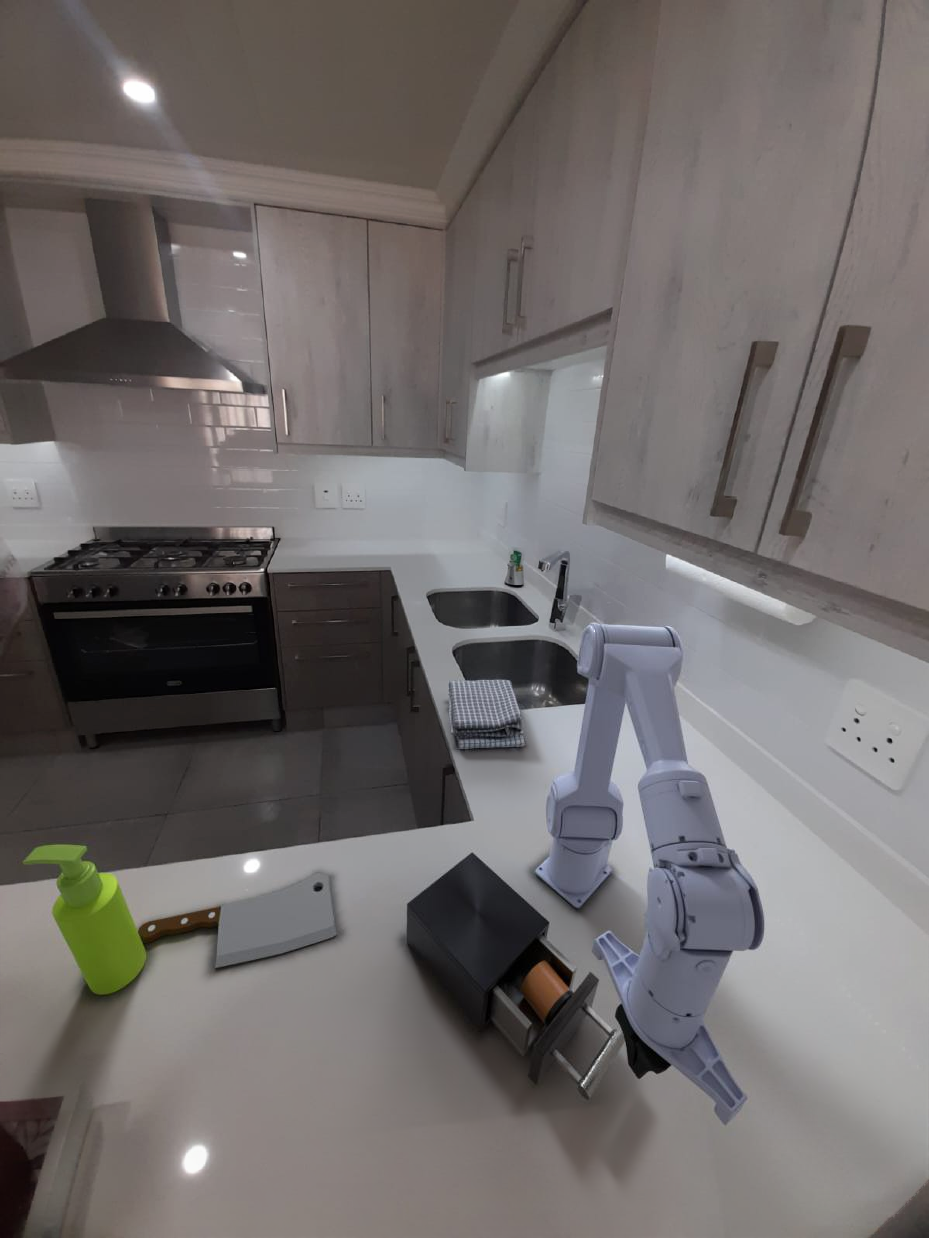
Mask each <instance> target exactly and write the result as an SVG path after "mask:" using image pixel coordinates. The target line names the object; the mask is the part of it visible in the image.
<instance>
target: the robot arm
mask: <svg viewBox="0 0 929 1238" xmlns="http://www.w3.org/2000/svg"><path fill="white" fill-rule="evenodd" d="M681 639H682V638H681V637H680V635H679V634H678V632H677V631H676V629H675V628H674V627H672V626H669V625H668V626H667V625H665V626H644V625H626V624H607V623H598V622H590V623H589V624H588V625H587V626H586V627H585V628H584V629H583V630H582V632H581V637H580V644H579V649H578V656H577V663H576V671H577V674H579V675H581V676H583V677H584V678H587V679H588V683H587V692H586V697H585V702H584V709H583V715H582V716H583V717H582V721H581V728H580V734H579V739H578V746H577V751H576V758H575V763H574V764H575V765H574V769H573V770H571V771H570V772H569V771H568V772H567V773H565V774H562V775H561V776H558V777H556V778H554V779H553V780H552V784H551V787H550V790H549V793H548V795H547V797H546V802H545V821H546V827H547V832H548V833H549V834H550V836H551V837H552V838H551V839H552V840H551V845H550V850H549V855H548V857H547V858H546V859H545V860H544V861H543V862H542V863H541V864H540V865H538V866H537V868H536V869H535V871H534V873H535V875H536V876H538V878H540V879H541V880H542V881H543V882H545V883H546V884H547V885H548V886H549V887H551V889H553V891H555V892H556V893H557V894H559V895H560V896H561V897H563V899H565V900H566V901H567V902H568V903H569V904H570V905H572V906H573V907H574V908H576V909H580V908H581V907H582V906H583V905H584V903H586V901H587V900H588V899H590V897H591V896H592V894H594V892H595V891H596V890H597V889H598V888H599V886H601V885H602V883H604V881H605V880H606V879H607V878H608V877H609V876H610V874H611V873H612V869H613V868H612V867H611V866H610V865H608V861H609V857H610V853H611V850H612V849H611V848H612V845H613V841H617V840H618V839H619V838H620V836H621V835H622V832H623V827H624V815H623V811H624V806H625V805H624V799H623V796H622V794H621V791H620V789H619V787H618V785H617V783H615V781H613V780H611V778H612V773H613V767H614V763H615V758H616V753H617V748H618V743H619V738H620V733H621V728H622V723H623V718H624V712H625V707H627V710H628V715H629V717H630V720H631V723H632V727H633V730H634V733H635V736H636V740H637V743H638V746H639V749H640V752H641V755H642V758H643V761H644V764H645V767H646V771H645V773H644V774H643V775H642V776H641V778H640V779H639V781H638V783H637V790H638V795H639V800H640V805H641V811H642V816H643V820H644V826H645V830H646V834H647V840H648V845H649V848H650V849H649V850H650V854H651V860H652V864H653V868H651V867H649V868H648V872H647V880H646V893H647V905H646V909H645V913H644V925H645V928H646V934H645V938H644V940H643V944H642V947H641V950H640V953H639V954H638V953H636V952H635V951H634V950H632V949H631V948H630V947H628V946H627V945H625V944H624V943H623V942H622V941H621V940H620V939H618V938H617V937H616V936H615V934H613V932H612V931H611V930H607V931H605V932H603V933H602V934H600V935H599V936H597V937H596V938H595V939H594V941H593V944H592V949H591V953H592V954H593V955H594V956H595V958H596V959H597V960H598V961H602V960H603V961H604V964H605V966H606V968H607V971H608V973H609V976H610V978H611V981H612V983H613V986H614V988H615V991H616V993H617V996H618V999H619V1000H620V1003H619V1005H617V1007H616V1009H615V1014H614V1018H615V1019H616V1021H617V1023H618V1025H619V1027H620V1029H621V1033H622V1034H623V1036H624V1039H625V1042H624V1044H625V1048H626V1049H625V1050H626V1055H627V1056H626V1057H627V1058H626V1059H627V1065H628V1067H629V1068H630V1069H631V1071H632V1073H633V1074H634V1076H635V1077H636V1078H637V1079H638V1080H640V1079H642V1078H644V1076H645V1075H646V1074H647V1073H649V1072H653V1073H654V1074H655V1075H659V1074H662V1073H664V1072H666V1071H667V1070H668V1069H669V1068H670V1067H674V1068H675V1069H676V1070H677V1071H678V1072H680V1073H681V1074H682V1075H683V1076H684V1077H686V1079H688V1080H689V1081H690V1082H692V1083H693V1084H694V1085H695V1086H696V1087H698V1089H700V1090H701V1091H702V1092H704V1093H705V1094H706V1095H707V1096H708V1097H709V1098H711V1099H712V1101H714V1102H715V1105H714V1108H713V1110H714V1113H715V1115H716V1116H717V1117H718V1119H719V1120H720V1122H721V1123H722V1124H723V1125H724V1126H725V1127H726V1126H728V1124H729V1123H730V1122H731V1121H732V1120H733V1119H734V1118H735V1117H736V1116H737V1115H738V1114H739V1112H740V1111H741V1110H742V1109H743V1107H744V1105H745V1104H746V1101H747V1100H748V1096H747V1094H746V1093H745V1092H744V1091H743V1089H742V1088H741V1087H740V1086H739V1084H738V1083H737V1081H736V1080H735V1078H734V1077H733V1075H732V1073H731V1071H730V1070H729V1068H728V1066H727V1064H726V1062H725V1060H724V1058H723V1057H722V1055H721V1053H720V1050H719V1049H718V1047H717V1044H716V1043H715V1042H714V1039H713V1038H712V1036H711V1034H710V1032H709V1030H708V1028H707V1027H706V1025H705V1023H704V1022H705V1021H704V1017H705V1015H706V1013H707V1010H708V1008H709V1006H710V1004H711V1002H712V1000H713V997H714V994H715V993H716V990H717V988H718V986H719V984H720V983H721V979H722V978H723V975H724V973H725V972H726V971H725V970H726V968H727V966H728V963H729V962H730V960H731V957H732V955H733V953H734V952H745V951H747V950H749V951H755V950H757V949H759V947H761V944H762V943H763V939H764V937H765V913H764V908H763V905H762V901H761V897H760V891H759V888H758V887H757V886H758V885H756V882H755V880H754V879H753V877H752V875H751V874H750V873H749V871H748V870H747V869H746V868H745V867H744V865H743V864H742V862H741V861H740V857H739V855H738V853H736V851H735V849H732V848H728V847H727V843H726V840H725V836H724V834H723V830H722V827H721V824H720V820H719V816H718V814H717V810H716V806H715V803H714V800H713V796H712V794H711V793H712V792H711V790H710V787H709V784H708V779H707V778H706V776H705V775H704V774H703V773H702V772H700V771H699V770H698V769H696V768H694V767H693V766H691V765H690V764H689V761H688V756H687V750H686V745H685V740H684V735H683V729H682V723H681V718H680V712H679V707H678V703H677V696H676V691H675V687H676V685H677V683H678V681H679V679H680V675H681V672H682V667H683V661H684V660H683V659H684V649H683V643H682V640H681Z"/></svg>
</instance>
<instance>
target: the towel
mask: <svg viewBox="0 0 929 1238" xmlns="http://www.w3.org/2000/svg"><path fill="white" fill-rule="evenodd" d="M448 718H449V725H450V734H451V735H452V736H453V737H455V738H456V740H457V746H458V749H459V750H463V749H465V750H468V749H479V748H480V749H484V748H486V749H489V748H490V749H491V748H510V747H512V748H513V747H516V748H519V747H520V748H523V747H525V745H526V744H525V739H524V734H525V733H524V730H523V723H522V721H524V718H523V716H522V712H521V710H520V707H519V704H518V700H517V696H516V693H515V690H514V687H513V683H512V680H509V679H508V680H507V679H478V680H450V681H449V683H448Z"/></svg>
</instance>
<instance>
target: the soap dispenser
mask: <svg viewBox="0 0 929 1238" xmlns="http://www.w3.org/2000/svg"><path fill="white" fill-rule="evenodd" d="M87 851H88V848H87V845H78V844H77V845H76V844H47V845H41V846H37V847H35V848H34V849H33V850H32V851H31V852H30V853H29V854H28V855H27V857H26V858H25V859H24V860H23V861H22V864H24V865H26V866H32V865H42V864H43V865H44V864H45V865H59V867H60V870H61V871H62V872H61V873H60V874H59V876H58V877H57V879H56V887H57V889H58V891H59V893H60V895H59V896H58V897H57V898H56V900H55V902H54V903H53V906H52V910H51V911H52V912H51V913H52V917H53V919H54V921H55V923H56V925H57V927H58V929H59V931H60V933H61V935H62V936H63V939H64V941H65V942H66V944H67V946H68V948H69V950H70V953H71V954H72V956H73V958H74V960H75V962H76V964H77V966H78V968H79V970H80V972H81V975H82V976H83V978H84V980H85V982H86V984H87V985H88V988H89V989H90V991H91V992H92V993H94V994H96V995H109V994H112V993H115V992H118V991H119V990H121V989H123V988H125V987H126V986H128V985H129V984H130V983H131V982H132V981H133V980H134V979H136V978H137V976H138V975H139V974H140V972H141V971H142V969H143V967H144V965H145V963H146V961H147V952H146V949H145V946H144V942H143V941H141V938H140V936H139V933H138V931H139V930H138V929H137V926H136V924H135V920H134V918H133V916H132V914H131V912H130V911H131V910H130V909H129V906H128V904H127V901H126V898H125V896H124V894H123V891H122V889H121V886H120V883H119V882H118V879H117V877H116V876H115V875H113V874H112V873H109V872H98V869H97V867H96V865H95V863H94V862H92V861H88V860H87V861H86V860H85V861H83V860H82V857H83V856H84V855H85V853H86V852H87Z"/></svg>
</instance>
